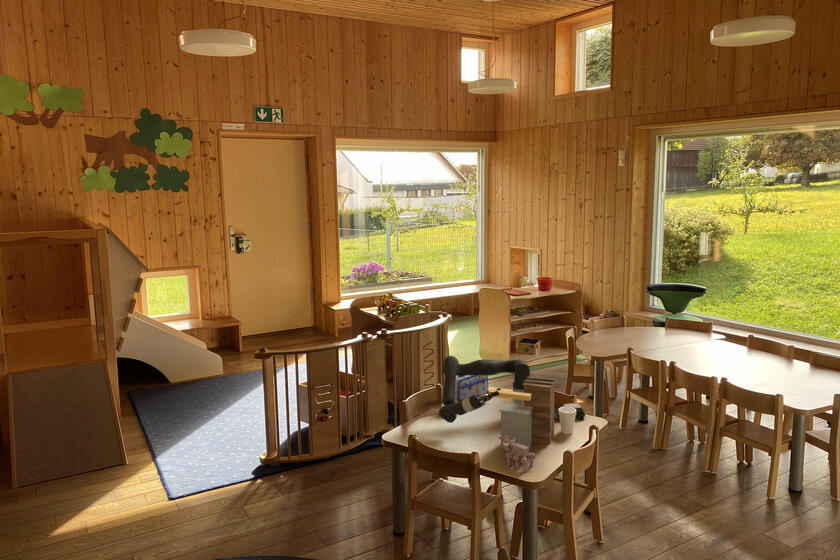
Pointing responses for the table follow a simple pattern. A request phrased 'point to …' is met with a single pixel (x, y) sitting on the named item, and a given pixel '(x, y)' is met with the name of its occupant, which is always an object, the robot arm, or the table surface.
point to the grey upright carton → (517, 423)
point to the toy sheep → (516, 451)
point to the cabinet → (541, 408)
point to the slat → (512, 395)
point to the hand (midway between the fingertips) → (499, 391)
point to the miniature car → (579, 410)
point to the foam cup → (567, 419)
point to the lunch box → (470, 386)
